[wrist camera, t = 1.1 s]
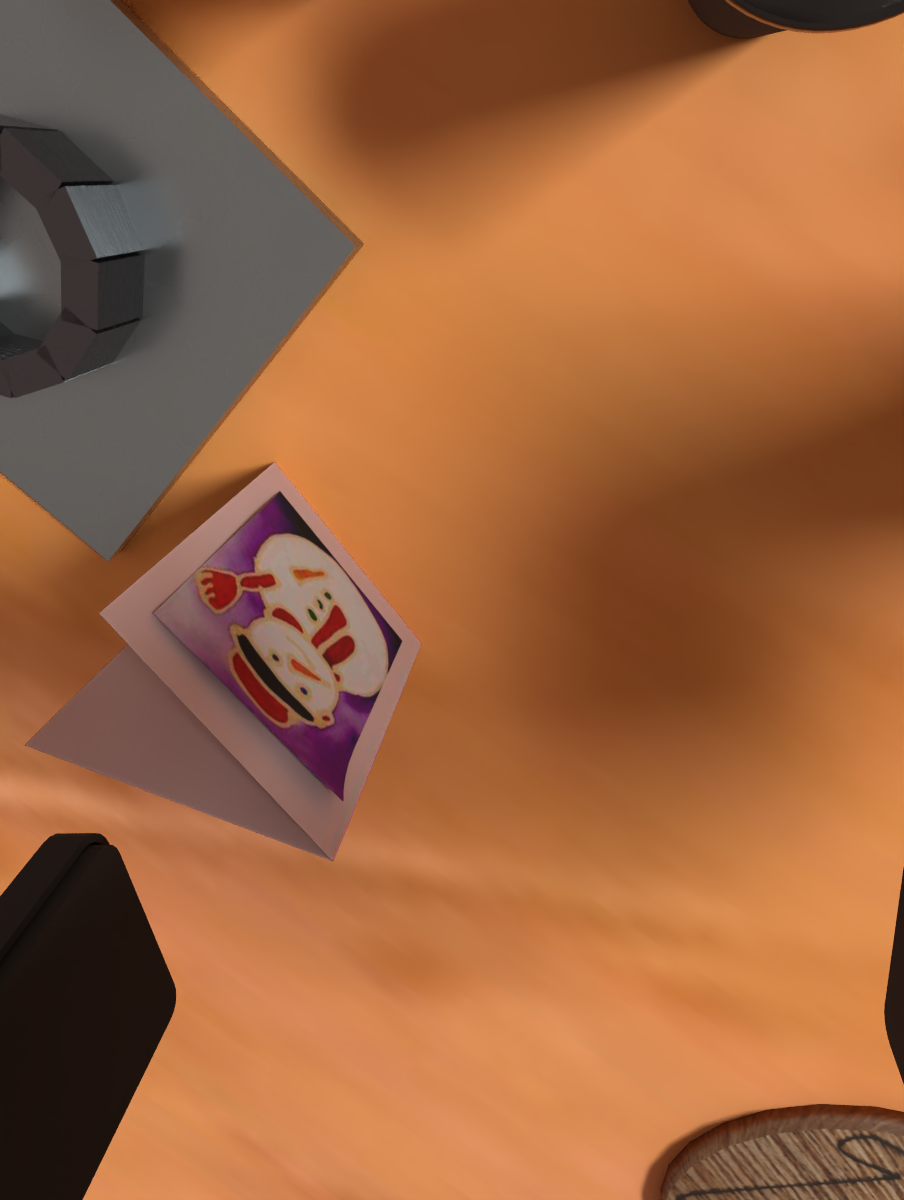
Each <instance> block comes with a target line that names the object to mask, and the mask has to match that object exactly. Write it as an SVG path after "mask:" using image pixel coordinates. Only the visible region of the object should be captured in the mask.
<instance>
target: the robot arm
mask: <svg viewBox="0 0 904 1200" xmlns="http://www.w3.org/2000/svg"><path fill="white" fill-rule="evenodd" d="M175 1004H176V988H175V984H174V982H173V979H172V977H171V975H170V972H169V970H168V967H167V965H166V963H165V960H164V958H163V955H162V953H161V951H160V948H159V946H158V943H157V941H156V939H155V936H154V934H153V932H152V929H151V927H150V924H149V922H148V920H147V917H146V915H145V912H144V910H143V908H142V905H141V903H140V900H139V898H138V896H137V893H136V891H135V888H134V886H133V884H132V881H131V879H130V876H129V874H128V872H127V869H126V867H125V864H124V862H123V860H122V857H121V855H120V853H119V851H118V849H117V848H116V847H115V846H113V845H110V844H109V842H108V841H107V839H106V838H105V837H104V836H103V835H101V834H96V833H70V834H55V835H53V836H50V837H49V838H48V839H47V840H46V841H45V842H44V843H43V844H42V845H41V847H40V848H39V849H38V850H37V851H36V853H35V854H34V855H33V856H32V858H31V859H30V860H29V861H28V863H27V864H26V865H25V866H24V868H23V869H22V870H21V871H20V873H19V874H18V875H17V876H16V878H15V879H14V880H13V881H12V882H11V884H10V885H9V886H8V887H7V889H6V890H5V891H4V892H3V894H2V895H1V896H0V1200H83V1198H84V1196H85V1193H86V1191H87V1189H88V1187H89V1185H90V1183H91V1181H92V1179H93V1177H94V1175H95V1173H96V1171H97V1169H98V1167H99V1165H100V1163H101V1161H102V1159H103V1157H104V1155H105V1153H106V1150H107V1148H108V1146H109V1144H110V1142H111V1140H112V1138H113V1136H114V1134H115V1132H116V1130H117V1128H118V1126H119V1124H120V1122H121V1120H122V1118H123V1116H124V1114H125V1112H126V1110H127V1107H128V1105H129V1103H130V1101H131V1099H132V1097H133V1095H134V1093H135V1091H136V1089H137V1087H138V1085H139V1083H140V1081H141V1079H142V1077H143V1075H144V1073H145V1071H146V1069H147V1067H148V1065H149V1062H150V1060H151V1058H152V1056H153V1054H154V1052H155V1050H156V1048H157V1046H158V1044H159V1042H160V1040H161V1038H162V1036H163V1034H164V1032H165V1030H166V1028H167V1026H168V1024H169V1022H170V1019H171V1017H172V1015H173V1012H174V1008H175ZM884 1014H885V1025H886V1031H887V1035H888V1040H889V1043H890V1046H891V1049H892V1052H893V1055H894V1058H895V1061H896V1063H897V1066H898V1069H899V1072H900V1075H901V1078H902V1080H903V1083H904V869H903V876H902V884H901V891H900V898H899V905H898V913H897V920H896V927H895V934H894V942H893V949H892V956H891V964H890V971H889V978H888V985H887V993H886V1000H885V1010H884Z"/></svg>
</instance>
